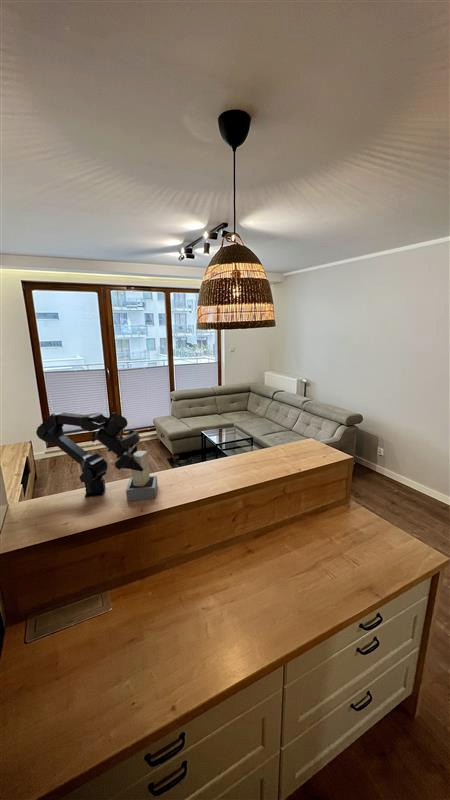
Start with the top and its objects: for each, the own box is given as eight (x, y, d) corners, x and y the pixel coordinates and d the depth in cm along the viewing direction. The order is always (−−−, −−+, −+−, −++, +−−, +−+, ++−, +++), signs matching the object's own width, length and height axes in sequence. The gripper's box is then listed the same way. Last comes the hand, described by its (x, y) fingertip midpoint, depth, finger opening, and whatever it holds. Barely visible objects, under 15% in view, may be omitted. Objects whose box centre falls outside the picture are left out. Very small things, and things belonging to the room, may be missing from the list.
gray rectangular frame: (127, 501, 120) (125, 490, 119) (131, 488, 131) (130, 477, 130) (155, 498, 122) (154, 487, 121) (157, 485, 132) (156, 475, 131)
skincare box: (143, 486, 122) (140, 457, 119) (132, 485, 123) (129, 456, 120) (150, 479, 128) (147, 450, 125) (139, 478, 129) (137, 450, 126)
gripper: (121, 433, 111) (156, 461, 114) (130, 419, 129) (159, 443, 132) (100, 456, 111) (135, 483, 115) (111, 438, 129) (141, 462, 133)
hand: (143, 466), depth 124 cm, fingers closed on skincare box, 7 cm apart
